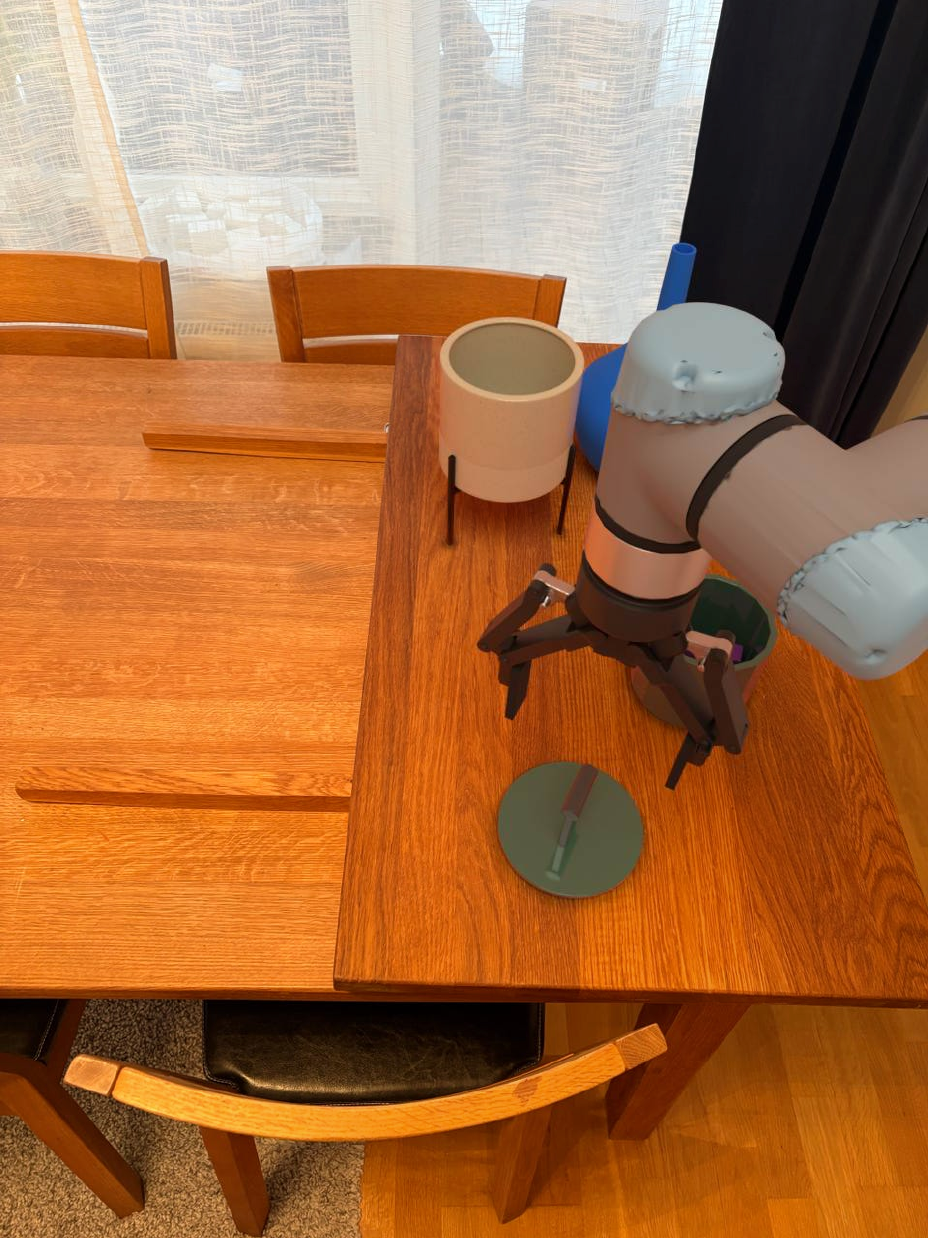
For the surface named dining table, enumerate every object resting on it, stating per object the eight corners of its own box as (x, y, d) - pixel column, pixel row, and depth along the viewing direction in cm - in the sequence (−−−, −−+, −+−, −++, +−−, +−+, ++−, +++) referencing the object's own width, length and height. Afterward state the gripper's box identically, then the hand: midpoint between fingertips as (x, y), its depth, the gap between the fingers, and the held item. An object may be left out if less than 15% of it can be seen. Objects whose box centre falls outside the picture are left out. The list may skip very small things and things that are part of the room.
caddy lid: (660, 802, 83) (679, 757, 76) (611, 928, 75) (629, 890, 68) (531, 746, 86) (539, 699, 80) (472, 860, 78) (476, 818, 72)
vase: (544, 434, 118) (572, 218, 95) (664, 412, 122) (718, 200, 99) (597, 524, 107) (643, 305, 84) (727, 496, 111) (804, 280, 88)
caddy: (758, 661, 94) (789, 599, 86) (729, 748, 87) (759, 689, 79) (651, 621, 97) (671, 557, 89) (614, 701, 90) (632, 640, 82)
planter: (543, 466, 114) (564, 308, 96) (572, 552, 104) (601, 394, 86) (430, 476, 112) (429, 316, 94) (448, 565, 102) (451, 405, 84)
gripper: (864, 589, 51) (758, 766, 67) (485, 457, 57) (473, 648, 74) (840, 681, 46) (732, 846, 63) (433, 527, 53) (432, 713, 69)
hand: (592, 740), depth 68 cm, fingers open, 13 cm apart
